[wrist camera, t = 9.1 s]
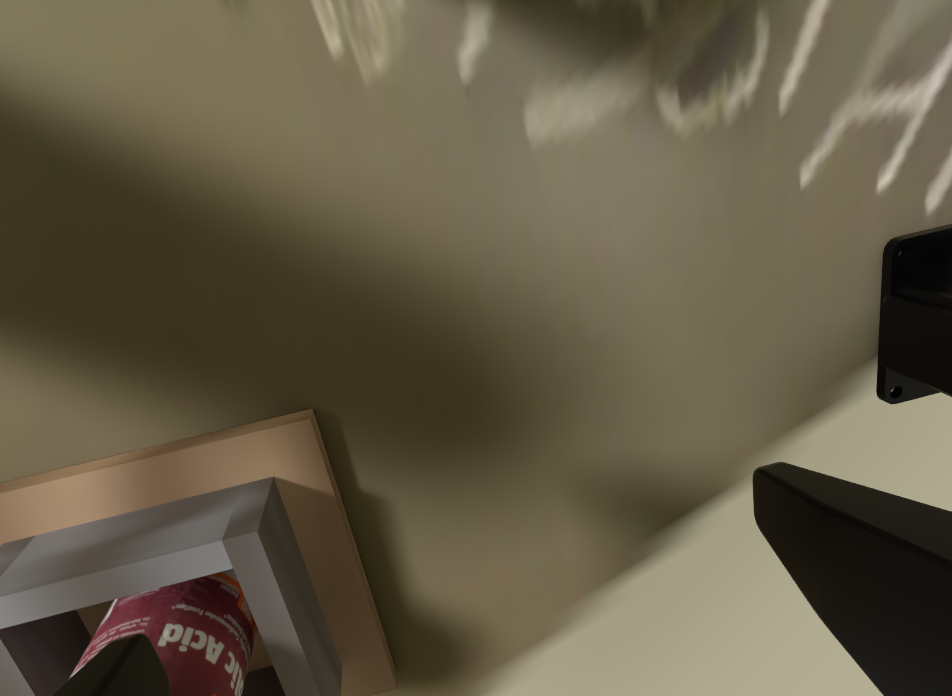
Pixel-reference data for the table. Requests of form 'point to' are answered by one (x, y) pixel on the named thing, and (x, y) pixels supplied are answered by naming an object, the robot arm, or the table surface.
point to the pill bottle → (188, 633)
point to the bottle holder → (193, 557)
